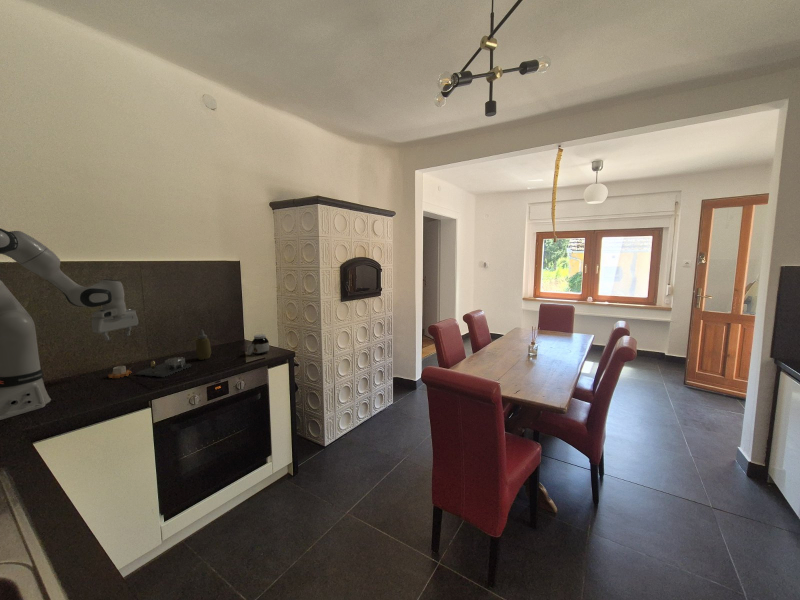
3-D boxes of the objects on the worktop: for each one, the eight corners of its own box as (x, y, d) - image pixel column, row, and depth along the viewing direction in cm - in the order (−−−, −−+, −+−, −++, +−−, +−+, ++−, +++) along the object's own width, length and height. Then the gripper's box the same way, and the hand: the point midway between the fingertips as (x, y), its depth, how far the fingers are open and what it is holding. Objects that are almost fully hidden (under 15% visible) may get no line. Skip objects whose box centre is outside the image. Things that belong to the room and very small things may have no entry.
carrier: (163, 377, 164) (162, 365, 163) (136, 375, 168) (135, 362, 167) (191, 366, 181) (190, 355, 180) (166, 364, 184) (165, 353, 183)
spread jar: (271, 352, 209) (270, 334, 207) (257, 357, 198) (256, 338, 197) (257, 350, 213) (256, 333, 212) (243, 355, 203) (242, 336, 202)
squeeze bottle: (193, 359, 195) (191, 329, 193) (207, 355, 201) (205, 327, 199) (200, 361, 190) (197, 331, 188) (214, 358, 197) (212, 329, 195)
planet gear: (117, 379, 162) (116, 370, 161) (103, 378, 164) (102, 369, 163) (135, 373, 170) (135, 365, 170) (122, 372, 172) (121, 363, 172)
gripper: (130, 307, 174) (133, 332, 176) (87, 314, 154) (91, 342, 156) (140, 308, 173) (142, 333, 175) (98, 314, 153) (101, 343, 155)
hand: (118, 337), depth 165 cm, fingers open, 8 cm apart
